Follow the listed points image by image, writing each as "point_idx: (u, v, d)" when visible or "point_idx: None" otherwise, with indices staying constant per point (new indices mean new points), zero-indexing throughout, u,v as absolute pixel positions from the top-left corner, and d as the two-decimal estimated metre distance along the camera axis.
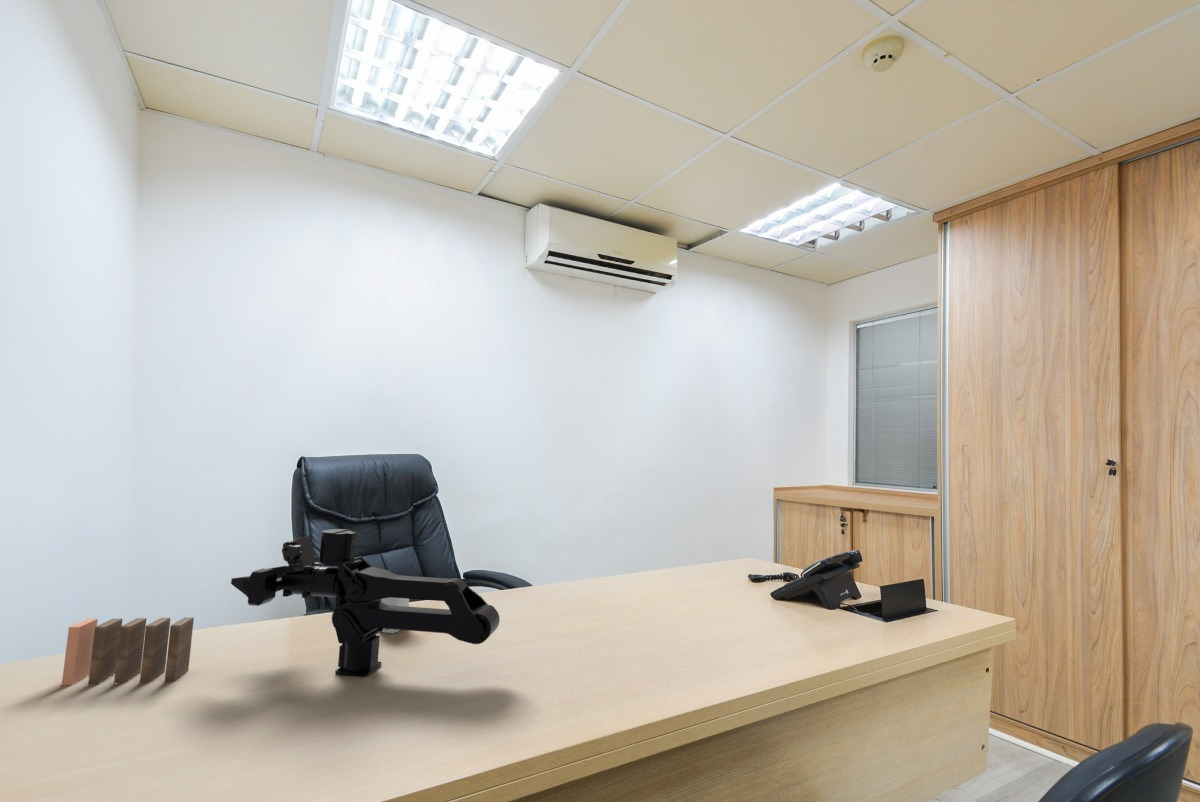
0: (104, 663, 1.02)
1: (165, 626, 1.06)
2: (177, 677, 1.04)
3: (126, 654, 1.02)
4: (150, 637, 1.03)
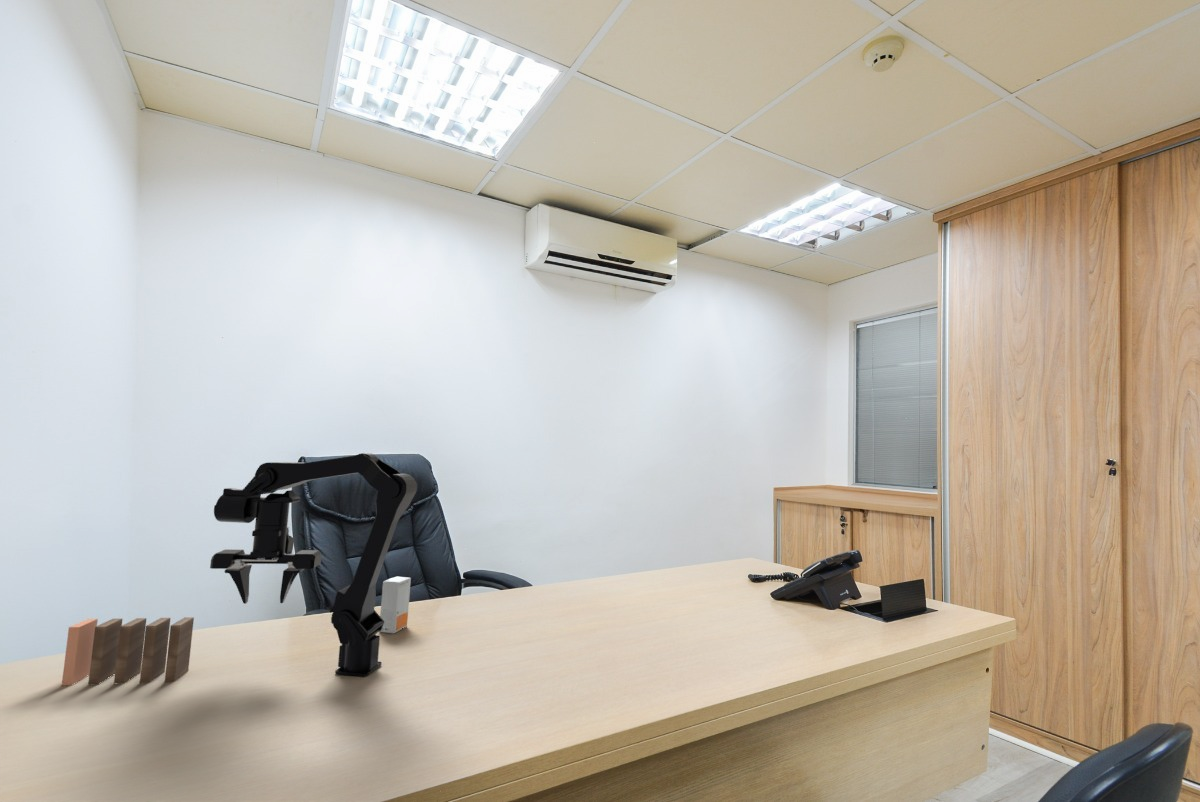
0: (104, 663, 1.02)
1: (165, 626, 1.06)
2: (177, 677, 1.04)
3: (126, 654, 1.02)
4: (150, 637, 1.03)
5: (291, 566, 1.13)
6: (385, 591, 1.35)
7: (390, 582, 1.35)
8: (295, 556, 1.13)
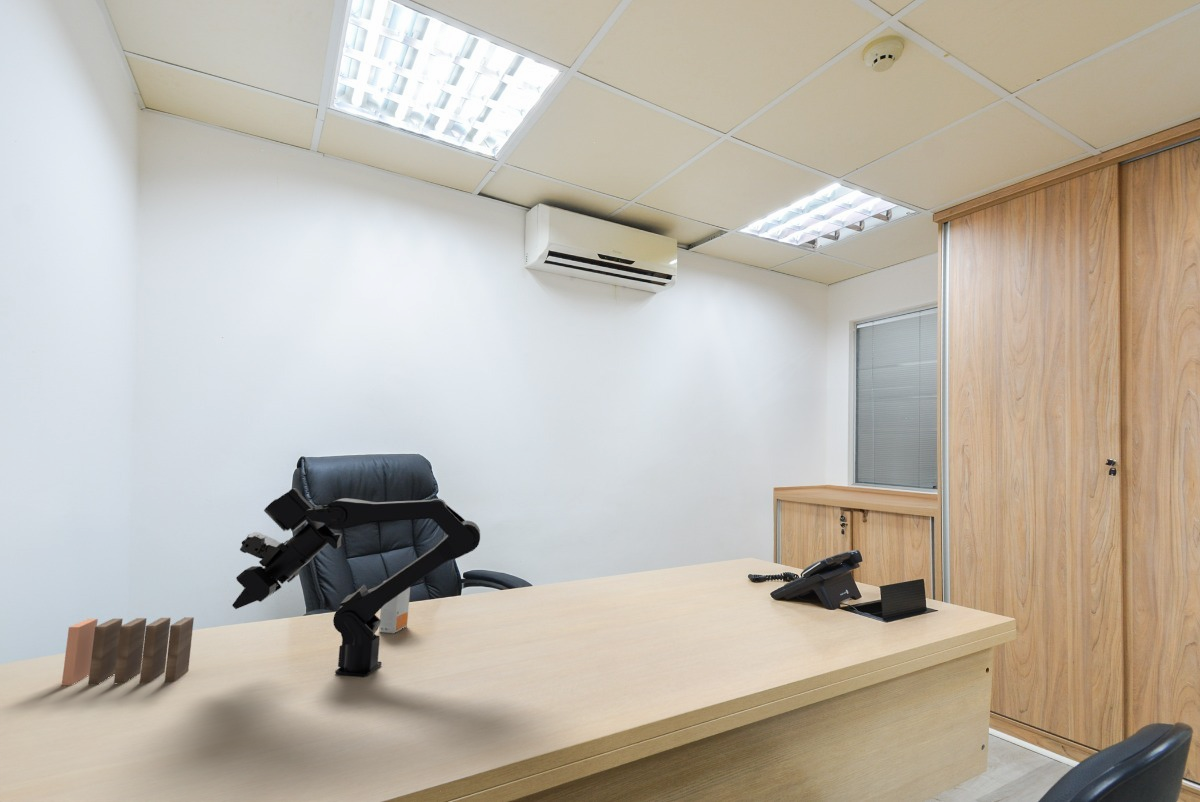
0: (104, 663, 1.02)
1: (165, 626, 1.06)
2: (177, 677, 1.04)
3: (126, 654, 1.02)
4: (150, 637, 1.03)
5: None
6: None
7: None
8: (295, 573, 1.16)
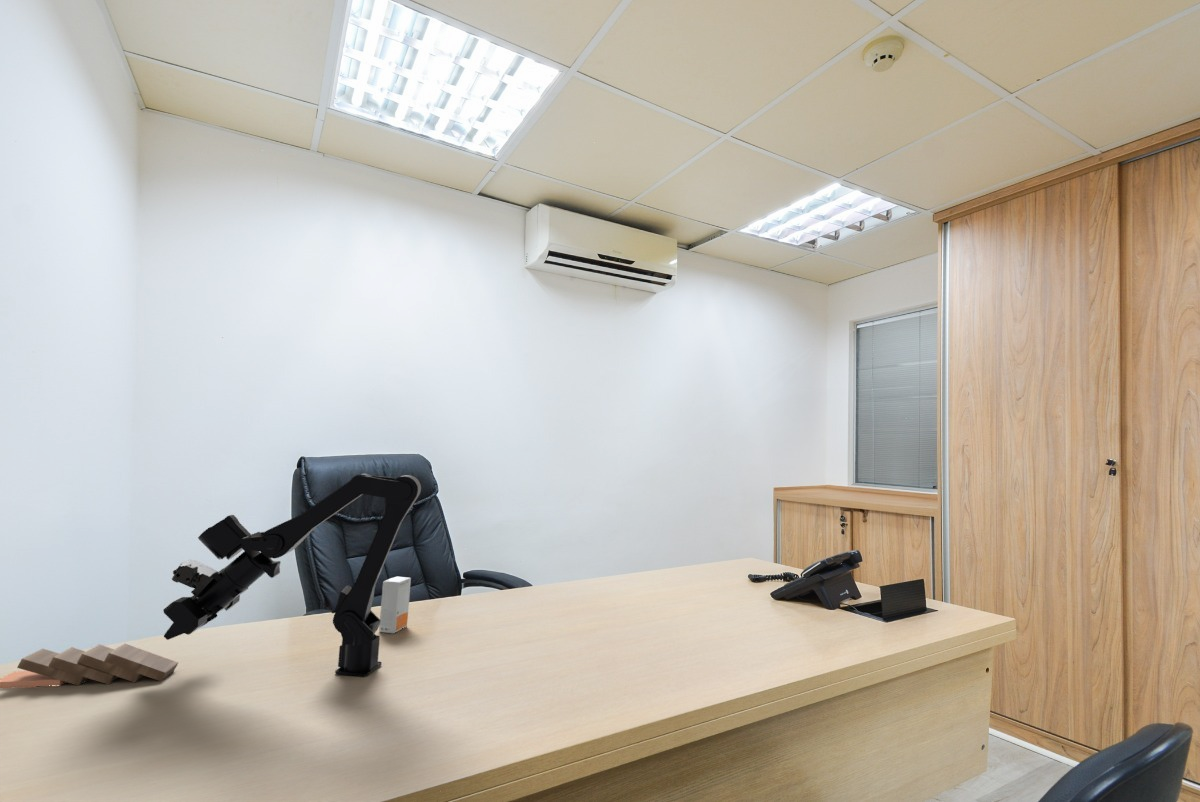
0: None
1: (100, 649, 1.04)
2: (166, 669, 1.04)
3: (83, 667, 1.00)
4: (92, 661, 1.01)
5: None
6: (385, 591, 1.35)
7: (390, 582, 1.35)
8: (233, 601, 1.13)
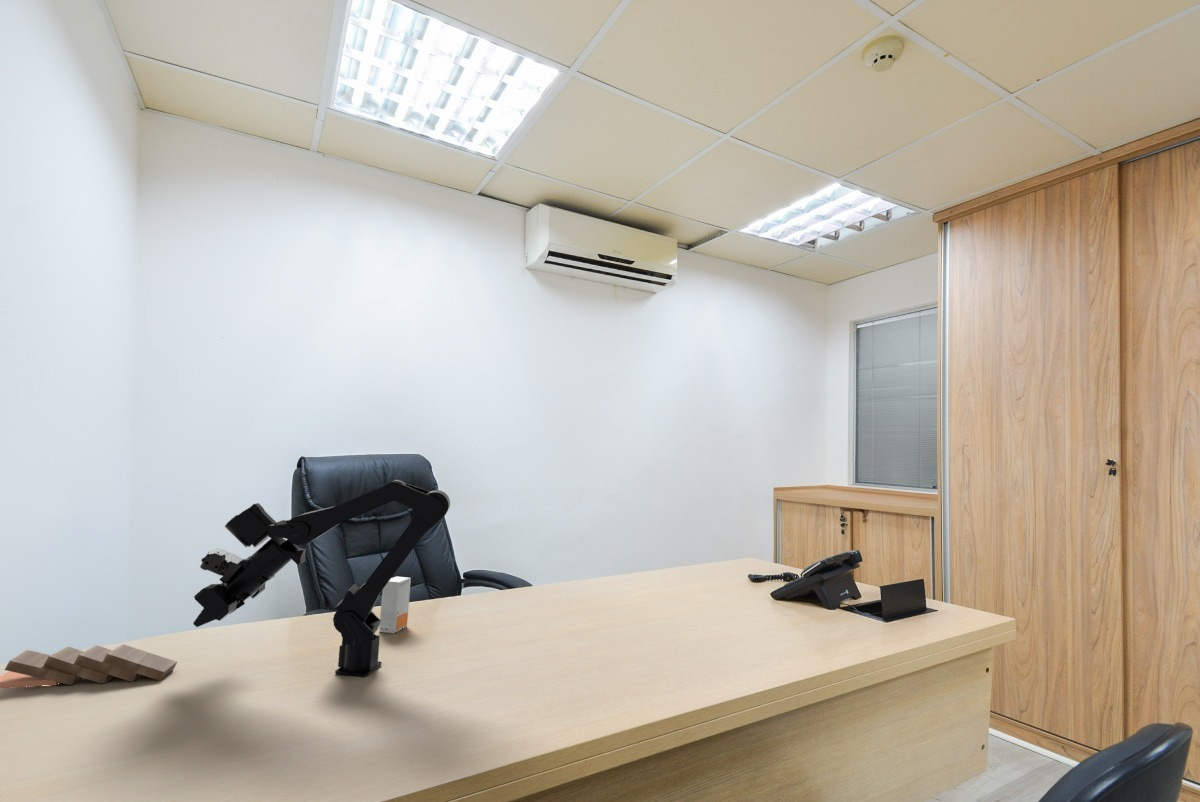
0: None
1: (97, 650, 1.04)
2: (165, 669, 1.04)
3: (78, 666, 1.00)
4: (89, 662, 1.01)
5: None
6: (385, 591, 1.35)
7: (390, 582, 1.35)
8: (259, 589, 1.14)
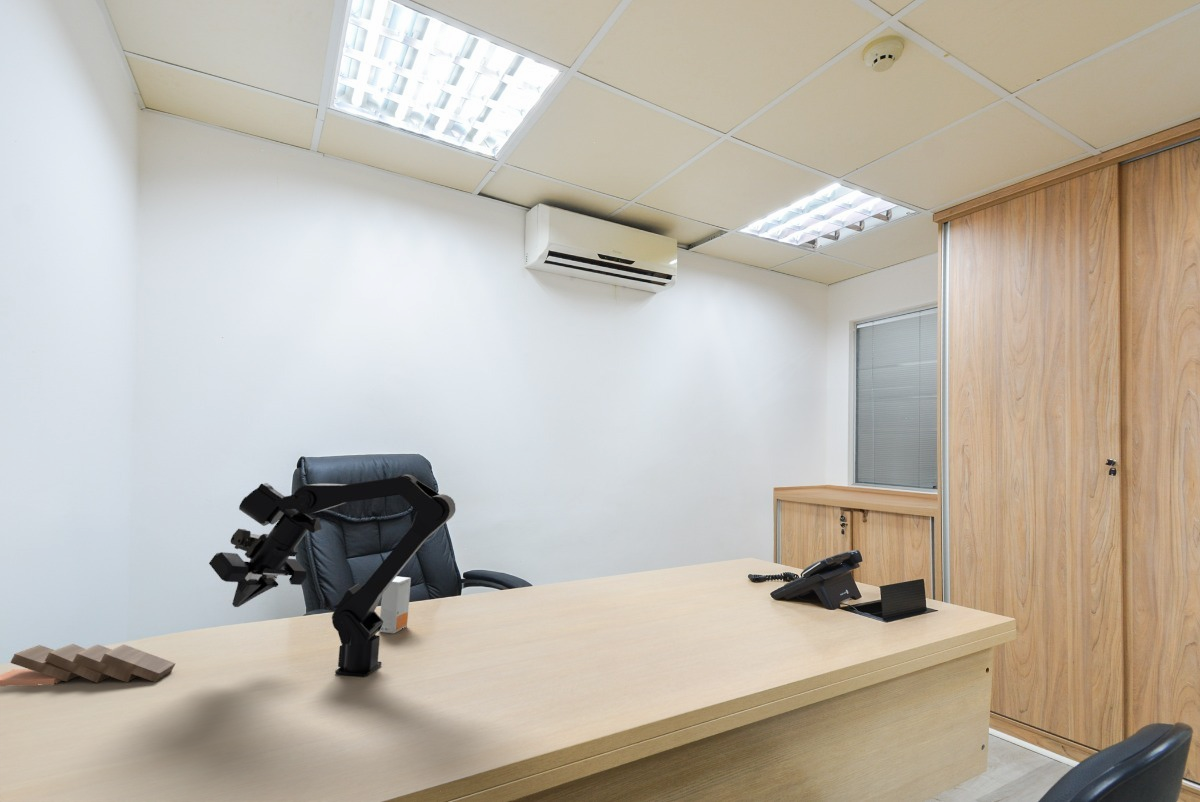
0: None
1: (97, 649, 1.05)
2: (160, 670, 1.04)
3: (75, 663, 1.01)
4: (86, 661, 1.01)
5: (269, 578, 1.13)
6: (385, 591, 1.35)
7: None
8: (295, 573, 1.17)
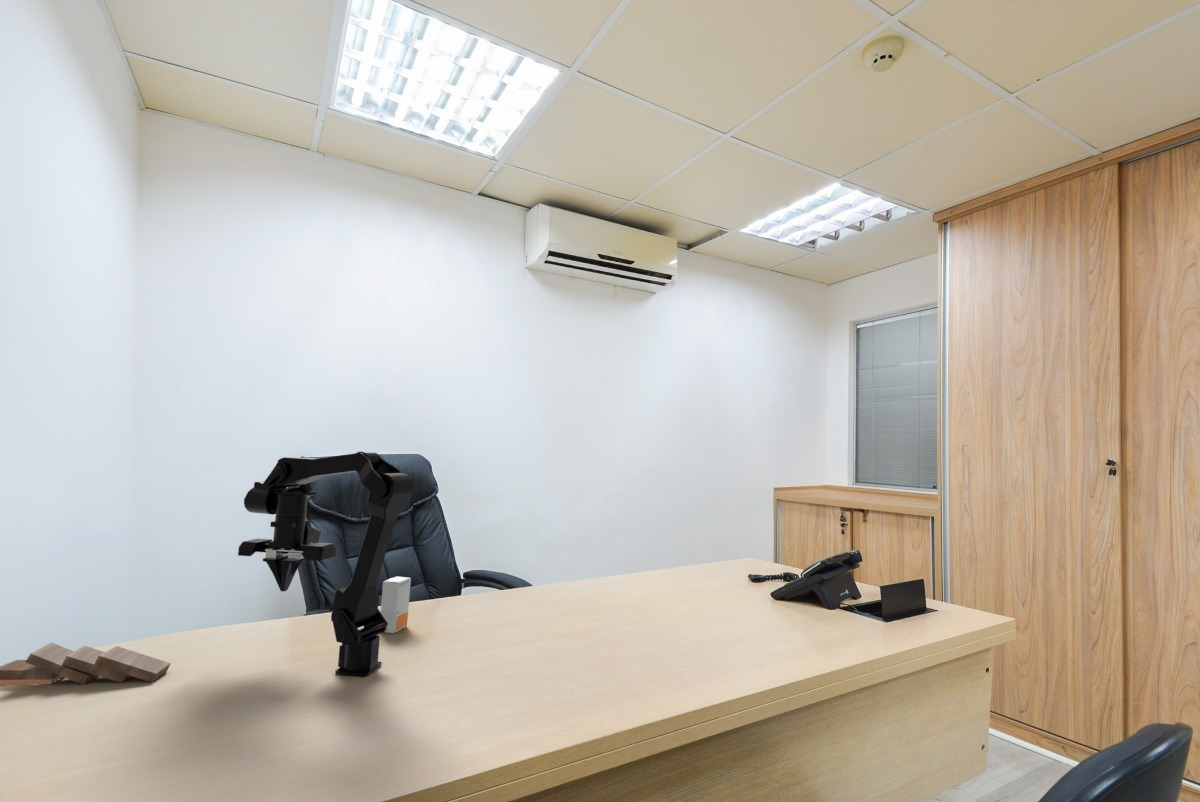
0: (36, 668, 1.00)
1: (85, 650, 1.03)
2: (157, 670, 1.03)
3: (59, 665, 0.99)
4: (77, 663, 1.00)
5: (290, 556, 1.18)
6: (385, 591, 1.35)
7: (390, 582, 1.35)
8: (306, 548, 1.17)
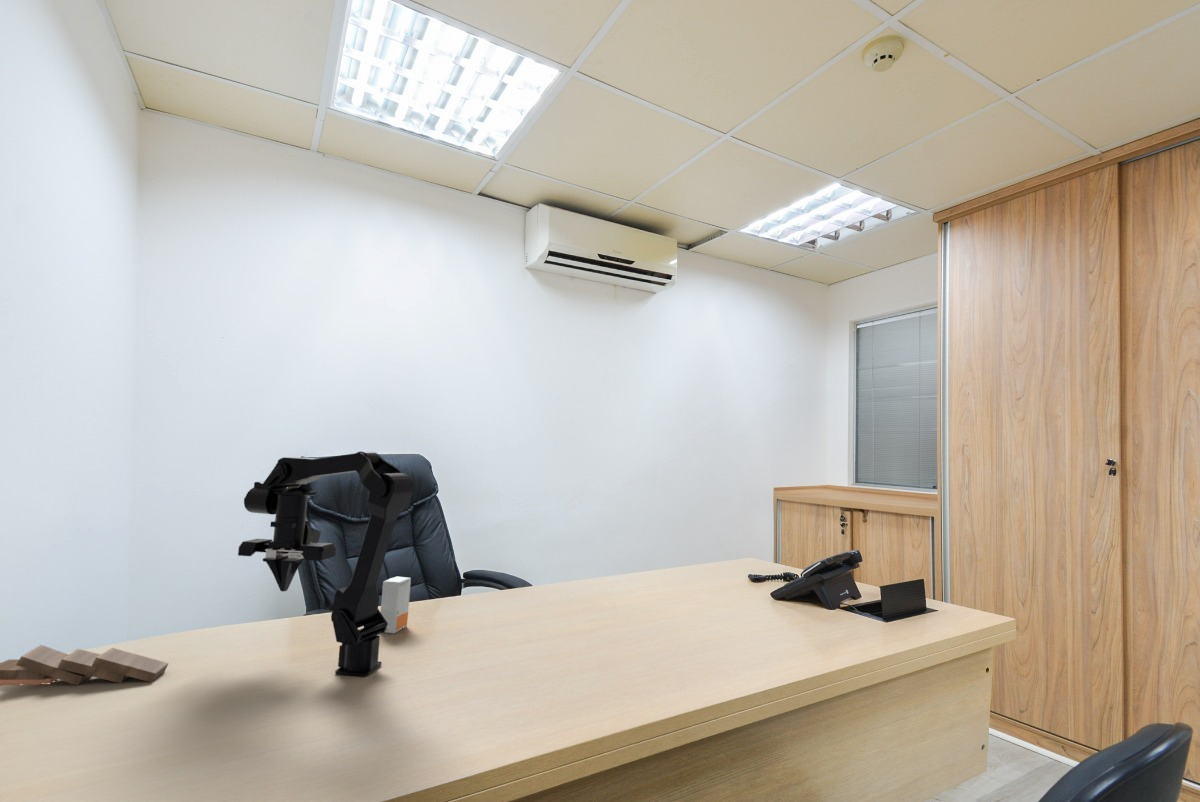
0: None
1: (80, 653, 1.03)
2: (156, 670, 1.03)
3: (51, 667, 0.99)
4: (73, 666, 0.99)
5: (290, 556, 1.18)
6: (385, 591, 1.35)
7: (390, 582, 1.35)
8: (306, 548, 1.17)
